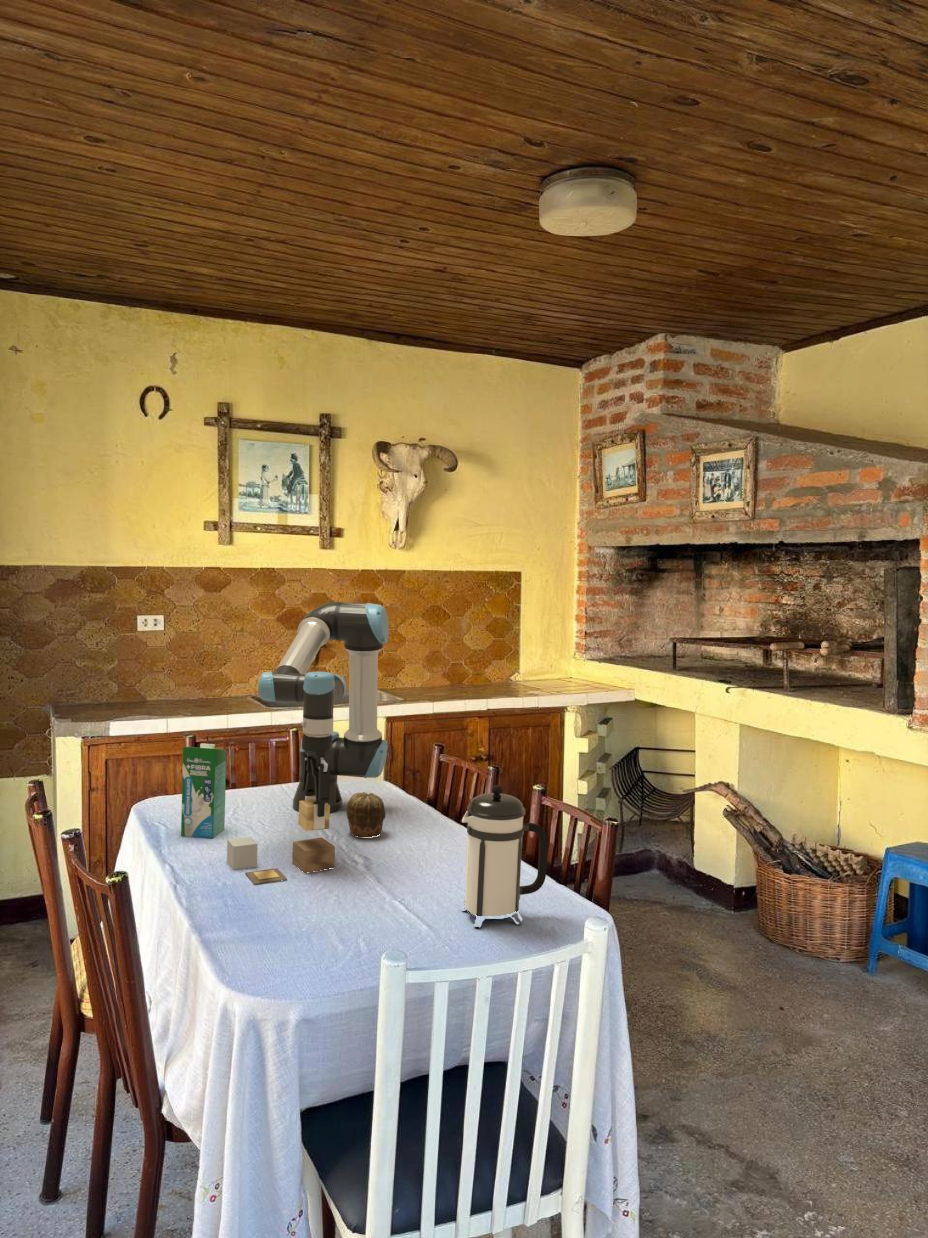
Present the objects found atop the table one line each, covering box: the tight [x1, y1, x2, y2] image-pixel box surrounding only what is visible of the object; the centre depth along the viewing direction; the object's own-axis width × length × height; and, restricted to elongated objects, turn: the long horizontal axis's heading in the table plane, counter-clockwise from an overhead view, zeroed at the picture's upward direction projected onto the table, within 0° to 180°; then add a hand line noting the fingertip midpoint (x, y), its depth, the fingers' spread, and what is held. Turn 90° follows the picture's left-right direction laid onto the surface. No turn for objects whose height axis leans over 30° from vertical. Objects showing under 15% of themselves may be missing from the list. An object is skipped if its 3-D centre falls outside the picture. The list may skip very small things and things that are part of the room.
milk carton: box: [180, 743, 227, 839], centre depth 253 cm, size 9×9×25 cm
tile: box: [245, 867, 288, 886], centre depth 222 cm, size 8×8×1 cm
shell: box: [346, 791, 386, 837], centre depth 258 cm, size 11×11×12 cm
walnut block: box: [291, 837, 336, 874], centre depth 231 cm, size 8×8×6 cm
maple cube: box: [297, 800, 331, 832], centre depth 230 cm, size 6×6×6 cm
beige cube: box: [226, 836, 258, 871], centre depth 230 cm, size 6×6×6 cm
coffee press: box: [461, 784, 549, 916], centre depth 203 cm, size 17×16×30 cm
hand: (314, 824), depth 230 cm, fingers closed on maple cube, 6 cm apart
